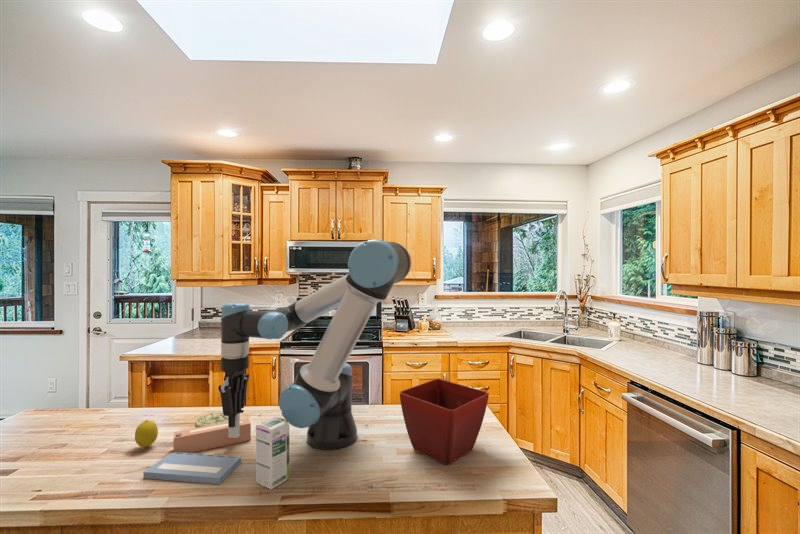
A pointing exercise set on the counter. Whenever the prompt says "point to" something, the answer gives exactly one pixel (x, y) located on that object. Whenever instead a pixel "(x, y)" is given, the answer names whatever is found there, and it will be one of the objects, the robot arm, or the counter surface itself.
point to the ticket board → (193, 467)
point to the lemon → (146, 433)
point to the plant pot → (443, 418)
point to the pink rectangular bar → (209, 437)
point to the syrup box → (272, 452)
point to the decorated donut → (210, 419)
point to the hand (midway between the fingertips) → (233, 436)
